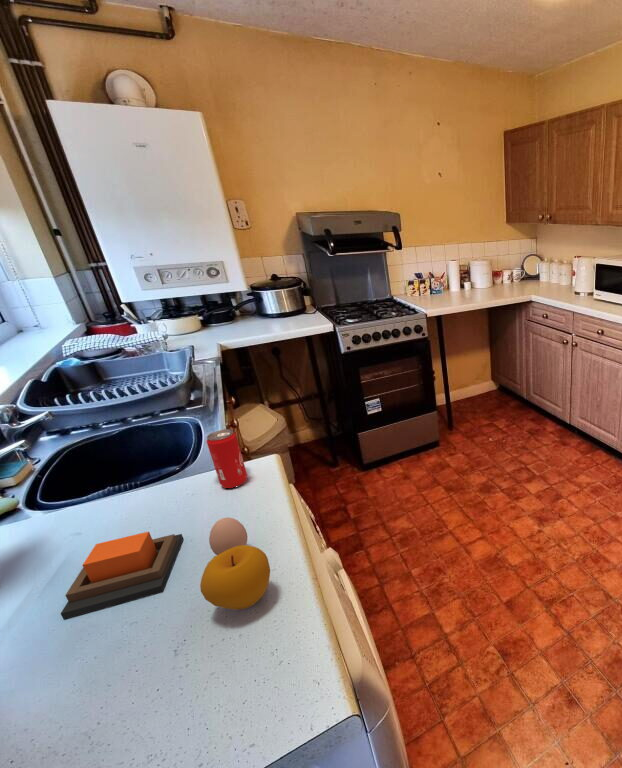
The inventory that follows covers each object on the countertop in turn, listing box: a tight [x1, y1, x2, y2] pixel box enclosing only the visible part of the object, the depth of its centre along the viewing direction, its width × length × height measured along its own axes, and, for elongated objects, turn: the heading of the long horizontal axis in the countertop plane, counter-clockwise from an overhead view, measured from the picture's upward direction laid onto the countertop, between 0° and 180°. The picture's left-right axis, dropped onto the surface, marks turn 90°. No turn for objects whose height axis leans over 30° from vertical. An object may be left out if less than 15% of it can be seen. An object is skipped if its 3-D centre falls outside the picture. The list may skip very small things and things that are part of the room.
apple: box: [200, 544, 271, 611], centre depth 64 cm, size 8×8×9 cm
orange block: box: [82, 531, 158, 583], centre depth 70 cm, size 7×5×4 cm
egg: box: [208, 517, 248, 556], centre depth 73 cm, size 5×5×7 cm
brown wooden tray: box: [60, 533, 184, 620], centre depth 71 cm, size 12×13×3 cm
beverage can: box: [206, 428, 248, 489], centre depth 93 cm, size 5×5×12 cm
